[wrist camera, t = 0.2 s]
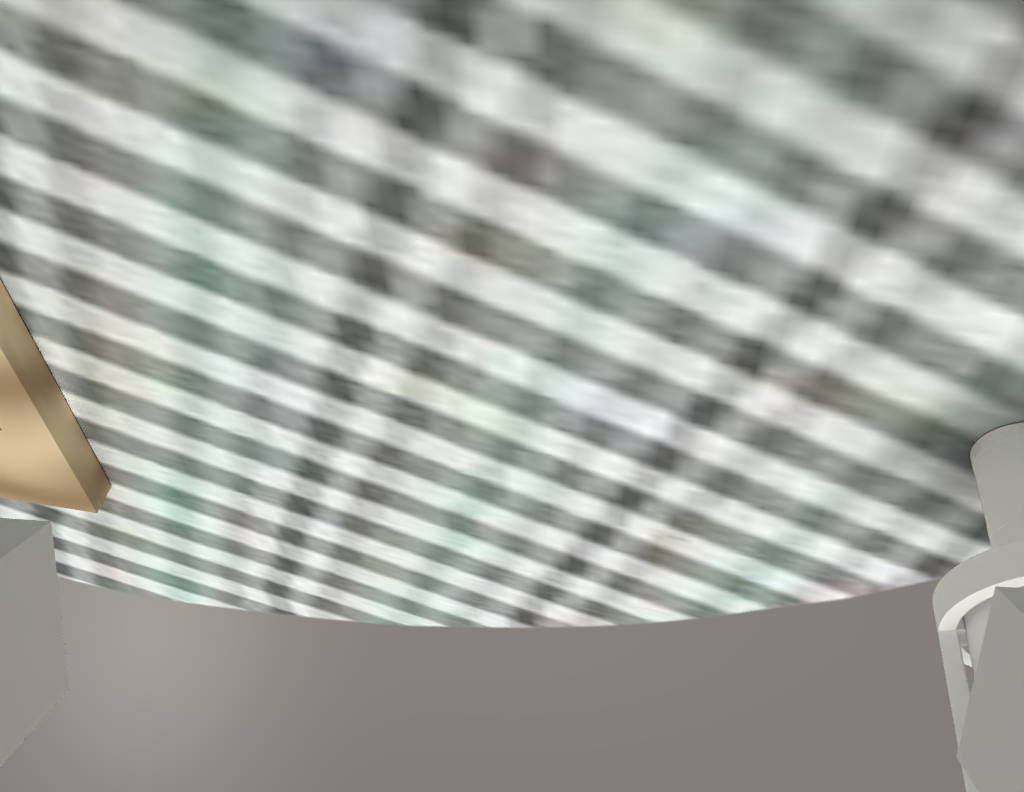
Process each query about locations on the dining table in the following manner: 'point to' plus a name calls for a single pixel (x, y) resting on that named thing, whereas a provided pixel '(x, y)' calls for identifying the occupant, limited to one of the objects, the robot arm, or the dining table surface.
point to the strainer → (983, 564)
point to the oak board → (40, 428)
